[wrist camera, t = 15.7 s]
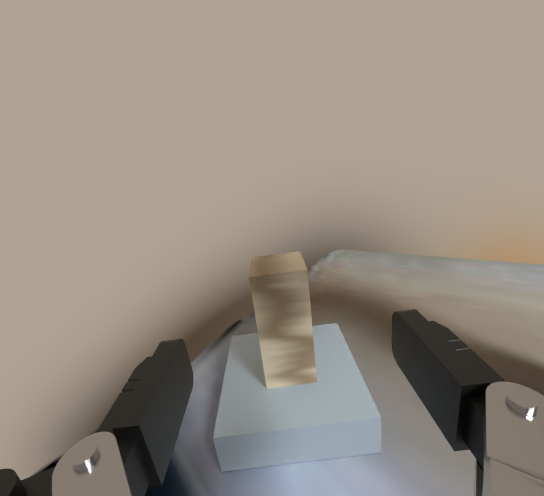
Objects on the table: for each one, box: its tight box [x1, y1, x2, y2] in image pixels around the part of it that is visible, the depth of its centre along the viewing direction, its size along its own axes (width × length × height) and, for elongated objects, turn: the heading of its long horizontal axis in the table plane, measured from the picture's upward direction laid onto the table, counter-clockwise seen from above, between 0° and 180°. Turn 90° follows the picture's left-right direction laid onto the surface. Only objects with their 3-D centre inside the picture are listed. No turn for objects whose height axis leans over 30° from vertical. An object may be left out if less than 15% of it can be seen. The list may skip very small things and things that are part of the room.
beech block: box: [249, 252, 317, 389], centre depth 27 cm, size 5×5×12 cm
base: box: [213, 323, 381, 472], centre depth 30 cm, size 14×14×4 cm
